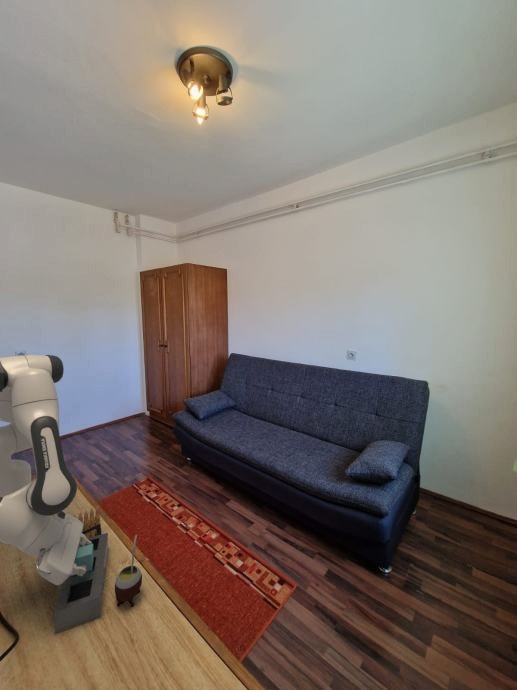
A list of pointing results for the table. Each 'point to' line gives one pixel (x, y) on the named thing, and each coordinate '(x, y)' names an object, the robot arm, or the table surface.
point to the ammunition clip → (91, 523)
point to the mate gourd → (128, 582)
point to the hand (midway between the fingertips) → (87, 558)
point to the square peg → (85, 557)
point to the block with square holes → (83, 591)
